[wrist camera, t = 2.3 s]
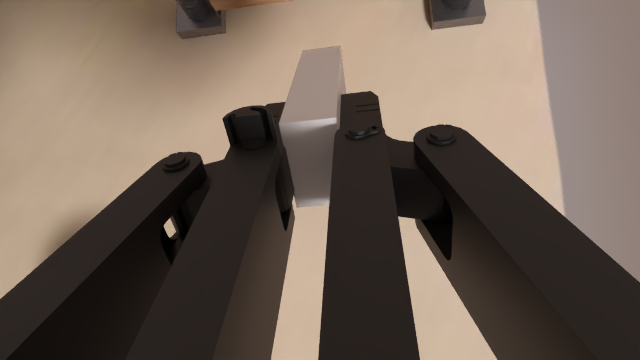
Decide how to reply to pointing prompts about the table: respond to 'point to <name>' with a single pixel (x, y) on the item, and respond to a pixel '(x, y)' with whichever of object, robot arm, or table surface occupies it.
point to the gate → (239, 3)
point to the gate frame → (201, 20)
